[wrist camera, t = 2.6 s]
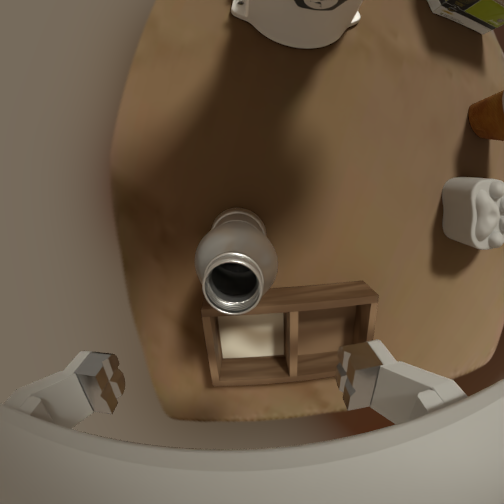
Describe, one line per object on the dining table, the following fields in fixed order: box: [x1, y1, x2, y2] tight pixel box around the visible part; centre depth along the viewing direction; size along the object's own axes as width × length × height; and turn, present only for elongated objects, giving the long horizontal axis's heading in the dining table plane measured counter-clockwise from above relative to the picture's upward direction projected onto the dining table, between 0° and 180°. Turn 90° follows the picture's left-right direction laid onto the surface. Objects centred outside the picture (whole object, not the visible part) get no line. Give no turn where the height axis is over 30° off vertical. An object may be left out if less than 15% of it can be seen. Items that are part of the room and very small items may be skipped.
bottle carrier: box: [201, 281, 379, 386], centre depth 37 cm, size 12×22×6 cm, turn 93°
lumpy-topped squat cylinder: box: [442, 177, 504, 250], centre depth 32 cm, size 10×13×9 cm
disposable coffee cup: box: [468, 90, 504, 141], centre depth 27 cm, size 10×10×12 cm
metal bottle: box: [195, 208, 278, 315], centre depth 27 cm, size 6×7×20 cm
